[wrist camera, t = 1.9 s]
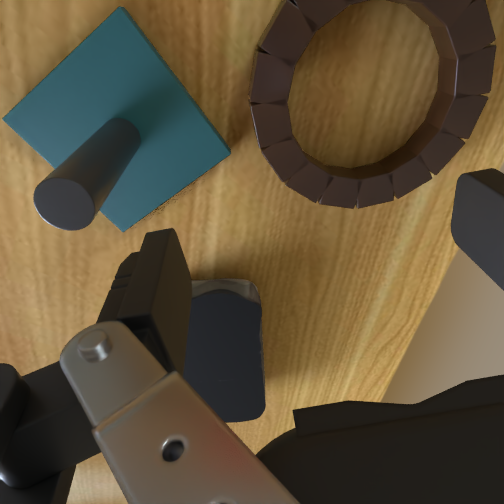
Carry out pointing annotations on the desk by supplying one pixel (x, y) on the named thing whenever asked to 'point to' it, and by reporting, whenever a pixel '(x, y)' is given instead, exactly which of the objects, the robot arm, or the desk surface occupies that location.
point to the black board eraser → (226, 348)
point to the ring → (424, 139)
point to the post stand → (114, 130)
